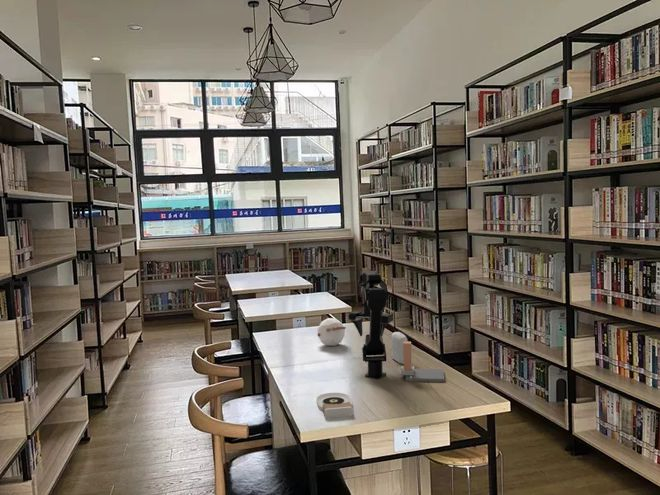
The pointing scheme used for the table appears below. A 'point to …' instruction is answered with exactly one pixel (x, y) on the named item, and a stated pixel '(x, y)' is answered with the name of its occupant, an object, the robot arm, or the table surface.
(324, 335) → the white piece
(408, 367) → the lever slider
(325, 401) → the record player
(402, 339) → the photo printer
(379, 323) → the robot arm
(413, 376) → the track board
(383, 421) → the table surface
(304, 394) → the table surface
